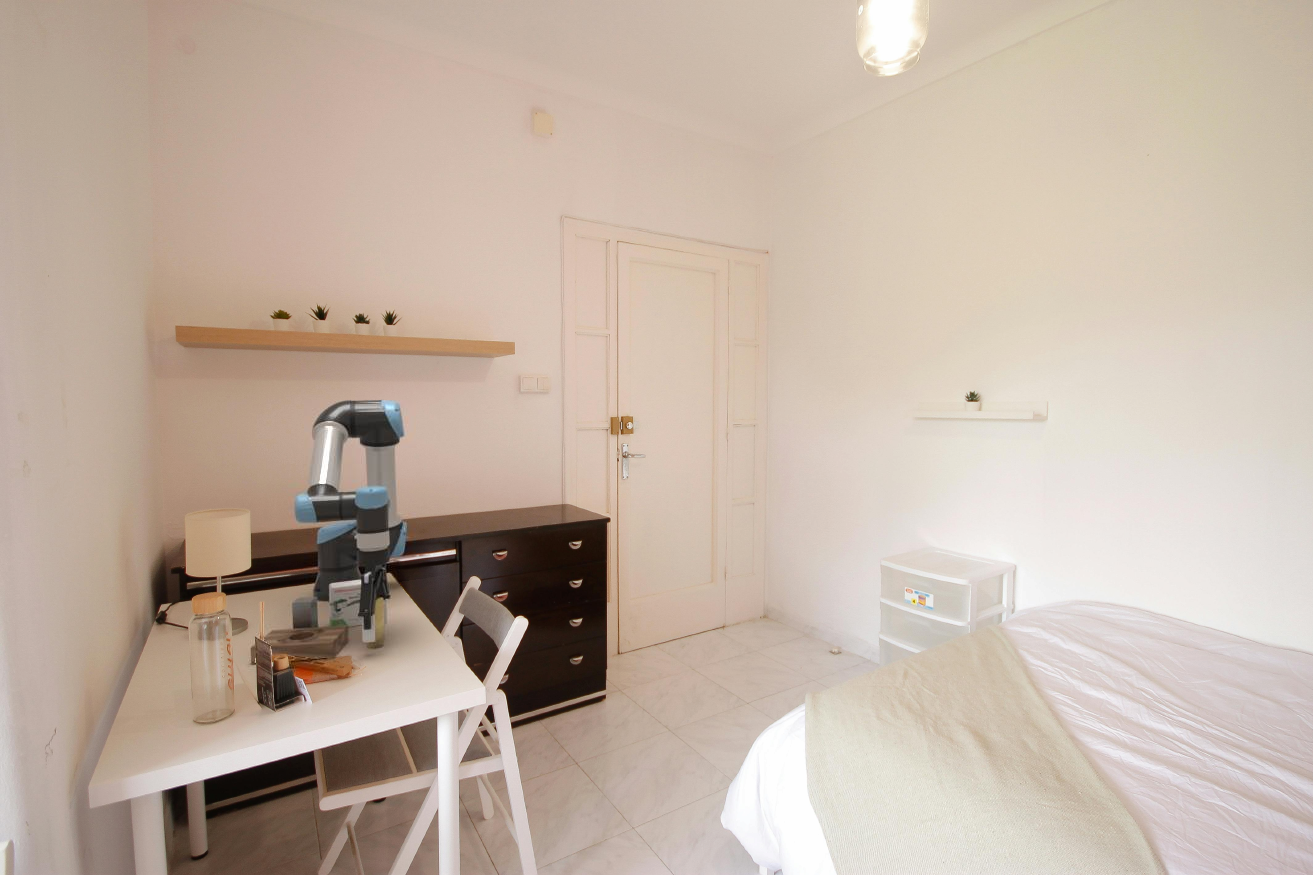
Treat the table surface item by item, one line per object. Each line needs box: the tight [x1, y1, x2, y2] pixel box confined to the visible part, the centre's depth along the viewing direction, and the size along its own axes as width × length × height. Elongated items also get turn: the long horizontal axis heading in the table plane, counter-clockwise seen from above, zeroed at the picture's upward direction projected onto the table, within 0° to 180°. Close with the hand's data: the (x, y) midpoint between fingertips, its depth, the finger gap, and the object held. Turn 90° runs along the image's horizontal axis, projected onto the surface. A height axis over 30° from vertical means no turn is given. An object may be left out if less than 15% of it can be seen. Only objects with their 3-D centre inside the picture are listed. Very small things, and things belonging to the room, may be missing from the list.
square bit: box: [291, 596, 319, 629], centre depth 165 cm, size 4×4×10 cm
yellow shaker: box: [365, 596, 385, 649], centre depth 158 cm, size 4×4×12 cm
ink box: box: [329, 580, 362, 628], centre depth 174 cm, size 9×5×12 cm, turn 123°
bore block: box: [250, 625, 350, 665], centre depth 154 cm, size 12×18×4 cm, turn 100°
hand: (375, 632), depth 158 cm, fingers open, 11 cm apart
